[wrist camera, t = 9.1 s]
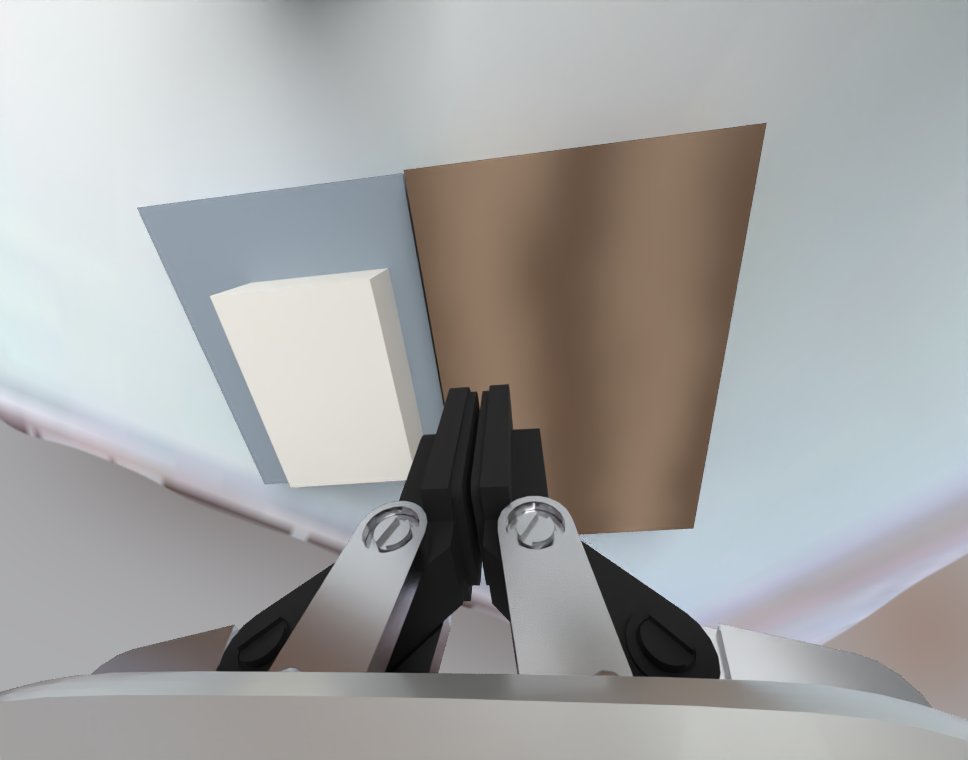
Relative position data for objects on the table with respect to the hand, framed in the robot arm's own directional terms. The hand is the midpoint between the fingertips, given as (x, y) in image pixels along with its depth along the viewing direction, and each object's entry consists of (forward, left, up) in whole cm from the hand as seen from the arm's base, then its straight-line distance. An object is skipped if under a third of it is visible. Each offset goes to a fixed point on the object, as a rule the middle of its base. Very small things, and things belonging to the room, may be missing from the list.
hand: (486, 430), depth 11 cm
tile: (+7, +1, -7) cm, 10 cm away
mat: (+8, 0, -9) cm, 12 cm away
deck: (-4, +2, -9) cm, 10 cm away
